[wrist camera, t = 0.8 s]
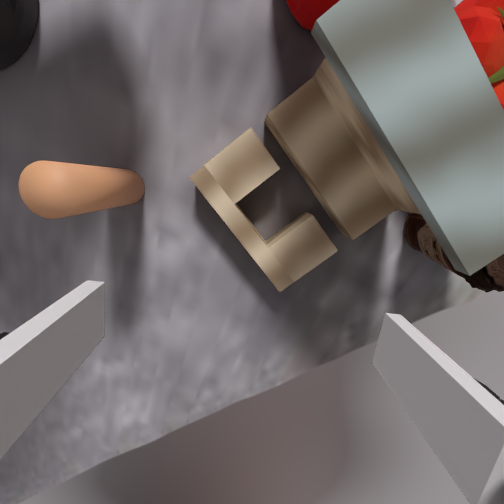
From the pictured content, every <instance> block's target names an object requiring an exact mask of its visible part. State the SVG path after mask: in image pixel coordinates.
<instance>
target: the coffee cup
mask: <svg viewBox="0 0 504 504" xmlns="http://www.w3.org/2000/svg"><path fill="white" fill-rule="evenodd" d="M404 231H405V237H406V239H407V241H408V242H409V244H410V245H411V246H412V247H413V248H414V249H416V250H419V251H421V252H422V253H424V254H425V255H426V256H427V257H429V258H430V259H432V260H434V261H436V262H437V263H439V264H441V265H442V266H444V267H446V268H447V269H449V270H451V271H452V272H454V273H455V274H457V275H459V276H461V277H463V278H465V280H466V281H467V282H468V283H470V285H471V287H472V288H478V289H481V290H483V291H485V292H489V291H492V290H497V291H499V292H500V291H504V254H503V255H501V256H499V257H498V258H496V259H495V260H493V261H492V262H490V263H489V264H487V265H486V266H484V267H483V268H481V269H480V270H478V271H476V272H475V273H473V274H472V275H470V276H469V275H466V274H464V273H462V272H459V271H457V270H455V269H454V267H453V265H452V264H451V262H450V260H449V259H448V257H447V256H446V254H445V252H444V251H443V249H442V247H441V246H440V244H439V242H438V241H437V239H436V237H435V236H434V234H433V233H432V231H431V229H430V228H429V226H428V224H427V223H426V221H425V219H424V218H423V216H422V215H421V214H417V213H411V214H410V215H409V216H408V218H407V221H406V224H405V229H404Z"/></svg>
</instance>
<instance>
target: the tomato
mask: <svg viewBox="0 0 504 504" xmlns="http://www.w3.org/2000/svg"><path fill="white" fill-rule="evenodd" d="M454 10H455V12H456V14H457V16H458V18H459V20H460V22H461V24H462V26H463V28H464V30H465V32H466V35H467V37H468V39H469V41H470V43H471V45H472V47H473V49H474V51H475V53H476V55H477V57H478V59H479V61H480V63H481V65H482V67H483V69H484V71H485V73H486V75H487V77H488V79H489V81H490V83H491V85H492V87H493V89H494V91H495V93H496V95H497V97H498V100H499V102H500V104H501V106H502V108H503V110H504V0H463V1H462V2H461V3H460V4H458V5H457V6H456V7H455V8H454Z"/></svg>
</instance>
